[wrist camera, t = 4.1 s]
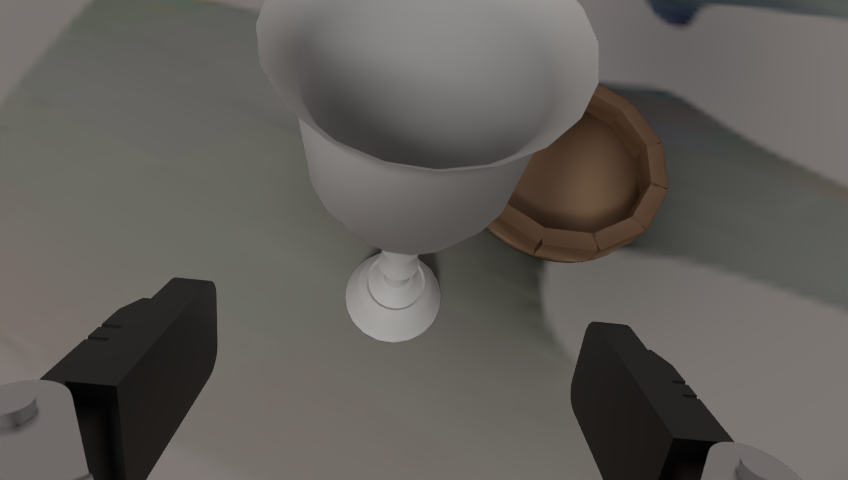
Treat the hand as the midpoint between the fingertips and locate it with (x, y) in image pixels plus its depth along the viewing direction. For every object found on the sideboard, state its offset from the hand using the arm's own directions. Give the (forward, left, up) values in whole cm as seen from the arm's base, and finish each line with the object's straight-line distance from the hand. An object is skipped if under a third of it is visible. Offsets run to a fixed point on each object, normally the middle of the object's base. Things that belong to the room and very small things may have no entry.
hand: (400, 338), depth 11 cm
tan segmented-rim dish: (-9, -15, -15) cm, 23 cm away
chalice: (0, -6, -15) cm, 16 cm away
